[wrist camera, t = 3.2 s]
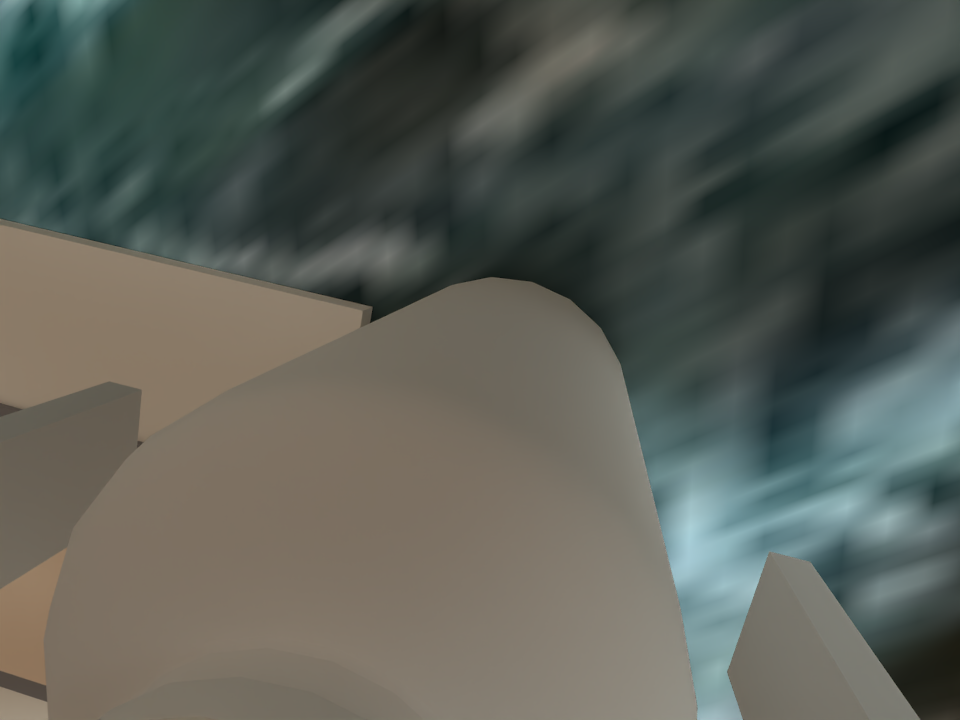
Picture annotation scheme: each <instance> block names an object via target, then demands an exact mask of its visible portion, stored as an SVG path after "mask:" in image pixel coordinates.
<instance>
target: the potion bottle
mask: <svg viewBox="0 0 960 720" xmlns="http://www.w3.org/2000/svg"><path fill="white" fill-rule="evenodd" d="M43 641H44V657H45V673H46V689H47V704H48V720H697V709H698V708H697V702H696V696H695V691H694V685H693V679H692V673H691V667H690V661H689V655H688V649H687V643H686V638H685V632H684V626H683V620H682V614H681V609H680V605H679V601H678V596H677V592H676V588H675V584H674V580H673V576H672V572H671V568H670V564H669V560H668V556H667V552H666V548H665V543H664V539H663V535H662V531H661V527H660V523H659V519H658V515H657V511H656V507H655V503H654V499H653V494H652V490H651V486H650V482H649V478H648V474H647V470H646V466H645V462H644V458H643V454H642V450H641V446H640V441H639V437H638V433H637V429H636V425H635V421H634V417H633V413H632V409H631V405H630V401H629V397H628V393H627V388H626V384H625V380H624V376H623V372H622V368H621V364H620V362H619V360H618V359H617V357H616V355H615V353H614V351H613V349H612V348H611V346H610V344H609V342H608V340H607V338H606V337H605V335H604V333H603V331H602V329H601V328H600V327H599V326H598V325H597V324H596V323H595V322H594V321H593V320H592V319H591V318H590V317H588V316H587V315H586V314H585V313H584V312H583V311H582V310H581V309H580V308H579V307H578V306H577V305H576V304H575V303H573V302H572V301H571V300H570V299H568V298H566V297H564V296H562V295H559V294H557V293H555V292H553V291H551V290H549V289H546V288H544V287H542V286H540V285H538V284H536V283H534V282H529V281H521V280H512V279H504V278H495V277H489V278H484V279H479V280H474V281H469V282H464V283H459V284H454V285H451V286H448V287H446V288H444V289H442V290H440V291H438V292H436V293H434V294H431V295H429V296H427V297H425V298H423V299H421V300H419V301H417V302H414V303H412V304H410V305H408V306H406V307H404V308H402V309H399V310H397V311H395V312H393V313H391V314H389V315H387V316H385V317H382V318H380V319H378V320H376V321H374V322H372V323H370V324H368V325H365V326H363V327H361V328H359V329H357V330H355V331H353V332H350V333H348V334H346V335H344V336H342V337H340V338H338V339H336V340H333V341H331V342H329V343H327V344H325V345H323V346H321V347H319V348H316V349H314V350H312V351H310V352H308V353H306V354H304V355H301V356H299V357H297V358H295V359H293V360H291V361H289V362H287V363H284V364H282V365H280V366H278V367H276V368H274V369H272V370H270V371H267V372H265V373H263V374H261V375H259V376H257V377H255V378H252V379H250V380H248V381H246V382H244V383H242V384H240V385H238V386H235V387H233V388H231V389H229V390H227V391H226V392H224V393H222V394H221V395H219V396H217V397H216V398H214V399H212V400H211V401H209V402H207V403H205V404H204V405H202V406H200V407H199V408H197V409H195V410H194V411H192V412H190V413H189V414H187V415H185V416H184V417H182V418H180V419H178V420H177V421H175V422H173V423H172V424H170V425H168V426H167V427H165V428H163V429H162V430H160V431H158V432H157V433H155V434H153V435H151V436H150V437H149V438H148V439H147V440H146V441H145V442H144V443H142V444H141V445H140V446H139V447H138V448H137V449H136V450H135V451H134V452H133V453H132V454H131V455H130V456H129V457H128V458H127V459H126V460H125V461H124V462H123V464H122V465H121V466H120V467H119V469H118V470H117V471H116V473H115V474H114V475H113V477H112V478H111V479H110V480H109V482H108V483H107V484H106V486H105V487H104V488H103V489H102V491H101V492H100V493H99V495H98V496H97V497H96V499H95V500H94V501H93V502H92V504H91V505H90V506H89V508H88V509H87V510H86V511H85V513H84V514H83V515H82V517H81V518H80V519H79V521H78V522H77V523H76V524H75V526H74V527H73V529H72V533H71V536H70V540H69V543H68V547H67V550H66V554H65V557H64V561H63V564H62V568H61V571H60V574H59V578H58V581H57V585H56V588H55V592H54V595H53V599H52V602H51V606H50V609H49V614H48V620H47V625H46V630H45V635H44V640H43Z"/></svg>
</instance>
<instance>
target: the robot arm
mask: <svg viewBox="0 0 960 720" xmlns="http://www.w3.org/2000/svg"><path fill="white" fill-rule="evenodd" d="M141 395H142V390H141V389H137V388H133V387H129V386H126V385H122V384H118V383H114V382H110V381H108V382H105V383H102V384H99V385H96V386H93V387H90V388H87V389H84V390H81V391H78V392H75V393H72V394H69V395H66V396H63V397H60V398H57V399H54V400H51V401H47V402H44V403H41V404H38V405H35V406H32V407H29V408H26V409H23V410H20V411H17V412H14V413H11V414H8V415H5V416H2V417H0V589H1V588H3V587H4V586H6V585H8V584H9V583H11V582H12V581H14V580H16V579H17V578H19V577H20V576H22V575H24V574H25V573H27V572H28V571H30V570H32V569H33V568H35V567H36V566H38V565H40V564H41V563H43V562H44V561H46V560H48V559H49V558H51V557H52V556H54V555H56V554H57V553H59V552H60V551H62V550H64V549H65V548H67V547H68V543H69V540H70V536H71V533H72V529H73V527H74V526H75V524H76V523H77V522H78V521H79V519H80V518H81V517H82V515H83V514H84V513H85V511H86V510H87V509H88V508H89V506H90V505H91V504H92V502H93V501H94V500H95V499H96V497H97V496H98V495H99V493H100V492H101V491H102V489H103V488H104V487H105V486H106V484H107V483H108V482H109V480H110V479H111V478H112V477H113V475H114V474H115V473H116V471H117V470H118V469H119V467H120V466H121V465H122V464H123V462H124V461H125V460H126V459H127V458H128V457H129V456H130V455H131V454H132V453H133V452H134V451H135V450H136V449H137V441H138V430H139V418H140V407H141ZM727 673H728V676H729V679H730V682H731V685H732V688H733V691H734V694H735V697H736V700H737V703H738V706H739V709H740V712H741V715H742V718H743V720H920V719H919V717H918V716H917V714H916V713H915V711H914V710H913V709H912V707H911V706H910V704H909V703H908V701H907V700H906V699H905V697H904V696H903V694H902V693H901V691H900V690H899V688H898V687H897V686H896V684H895V683H894V681H893V680H892V678H891V677H890V676H889V674H888V673H887V671H886V670H885V668H884V667H883V666H882V664H881V663H880V661H879V660H878V658H877V657H876V656H875V654H874V653H873V651H872V650H871V648H870V647H869V646H868V644H867V643H866V641H865V640H864V638H863V637H862V635H861V634H860V633H859V631H858V630H857V628H856V627H855V625H854V624H853V623H852V621H851V620H850V618H849V617H848V615H847V614H846V613H845V611H844V610H843V608H842V607H841V605H840V604H839V603H838V601H837V600H836V598H835V597H834V595H833V594H832V593H831V591H830V590H829V588H828V587H827V585H826V584H825V582H824V581H823V580H822V578H821V577H820V575H819V574H818V572H817V571H816V570H815V568H814V567H813V565H812V564H811V562H808V561H804V560H801V559H797V558H793V557H789V556H785V555H781V554H777V553H773V552H770V551H769V554H768V557H767V560H766V563H765V565H764V568H763V571H762V574H761V577H760V580H759V583H758V586H757V588H756V591H755V594H754V597H753V600H752V603H751V606H750V608H749V611H748V614H747V617H746V620H745V623H744V626H743V628H742V631H741V634H740V637H739V640H738V643H737V646H736V649H735V651H734V654H733V657H732V660H731V663H730V666H729V669H728V671H727Z"/></svg>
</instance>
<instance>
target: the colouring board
mask: <svg viewBox="0 0 960 720" xmlns="http://www.w3.org/2000/svg"><path fill="white" fill-rule="evenodd" d="M372 308H373V307H371V306H367V305H363V304H358V303H354V302H350V301H346V300H341V299H337V298H333V297H329V296H325V295H320V294H316V293H312V292H308V291H303V290H299V289H295V288H291V287H287V286H282V285H278V284H274V283H270V282H265V281H261V280H257V279H253V278H248V277H244V276H240V275H236V274H232V273H227V272H223V271H219V270H215V269H210V268H206V267H202V266H198V265H194V264H189V263H185V262H181V261H177V260H172V259H168V258H164V257H160V256H156V255H151V254H147V253H143V252H139V251H134V250H130V249H126V248H122V247H118V246H113V245H109V244H105V243H101V242H96V241H92V240H88V239H84V238H80V237H75V236H71V235H67V234H63V233H58V232H54V231H50V230H46V229H42V228H37V227H33V226H29V225H25V224H20V223H16V222H12V221H8V220H4V219H0V417H2V416H5V415H8V414H11V413H14V412H17V411H20V410H23V409H26V408H29V407H32V406H35V405H38V404H41V403H44V402H47V401H51V400H54V399H57V398H60V397H63V396H66V395H69V394H72V393H75V392H78V391H81V390H84V389H87V388H90V387H93V386H96V385H99V384H102V383H105V382H108V381H110V382H114V383H118V384H122V385H126V386H129V387H133V388H137V389H141V390H142V395H141V407H140V418H139V430H138V441H137V448H138V447H139V446H140V445H141V444H142V443H144V442H145V441H146V440H147V439H148V438H149V437H150V436H151V435H153V434H155V433H157V432H158V431H160V430H162V429H163V428H165V427H167V426H168V425H170V424H172V423H173V422H175V421H177V420H178V419H180V418H182V417H184V416H185V415H187V414H189V413H190V412H192V411H194V410H195V409H197V408H199V407H200V406H202V405H204V404H205V403H207V402H209V401H211V400H212V399H214V398H216V397H217V396H219V395H221V394H222V393H224V392H226V391H227V390H229V389H231V388H233V387H235V386H238V385H240V384H242V383H244V382H246V381H248V380H250V379H252V378H255V377H257V376H259V375H261V374H263V373H265V372H267V371H270V370H272V369H274V368H276V367H278V366H280V365H282V364H284V363H287V362H289V361H291V360H293V359H295V358H297V357H299V356H301V355H304V354H306V353H308V352H310V351H312V350H314V349H316V348H319V347H321V346H323V345H325V344H327V343H329V342H331V341H333V340H336V339H338V338H340V337H342V336H344V335H346V334H348V333H350V332H353V331H355V330H357V329H359V328H361V327H363V326H365V325H368V324H370V320H371V314H372ZM66 550H67V548H65V549H64V550H62V551H60V552H59V553H57V554H56V555H54V556H52V557H51V558H49V559H48V560H46V561H44V562H43V563H41V564H40V565H38V566H36V567H35V568H33V569H32V570H30V571H28V572H27V573H25V574H24V575H22V576H20V577H19V578H17V579H16V580H14V581H12V582H11V583H9V584H8V585H6V586H4V587H3V588H1V589H0V720H48V704H47V689H46V673H45V657H44V641H43V640H44V635H45V630H46V625H47V620H48V614H49V609H50V606H51V602H52V599H53V595H54V592H55V588H56V585H57V581H58V578H59V574H60V571H61V568H62V564H63V561H64V557H65V554H66Z"/></svg>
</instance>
